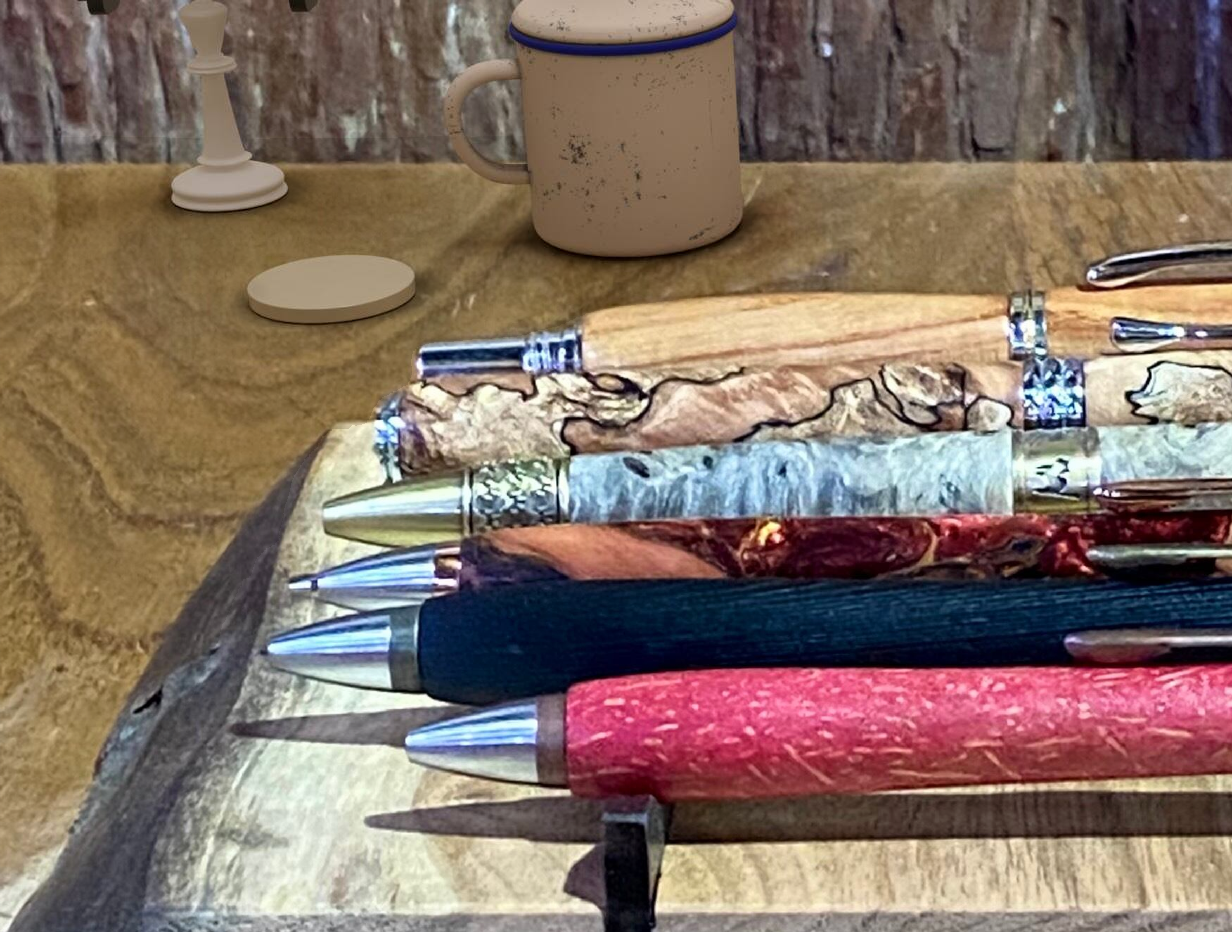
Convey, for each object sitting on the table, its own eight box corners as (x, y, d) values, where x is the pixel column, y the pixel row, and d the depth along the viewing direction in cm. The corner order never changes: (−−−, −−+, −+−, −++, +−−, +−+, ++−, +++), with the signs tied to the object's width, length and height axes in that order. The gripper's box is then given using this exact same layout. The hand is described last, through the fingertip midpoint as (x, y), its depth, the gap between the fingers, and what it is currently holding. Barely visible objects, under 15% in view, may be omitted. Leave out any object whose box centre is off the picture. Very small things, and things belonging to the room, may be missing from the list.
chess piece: (179, 181, 119) (143, -49, 114) (293, 175, 119) (262, -55, 114) (164, 214, 114) (126, -24, 110) (282, 208, 115) (249, -29, 110)
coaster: (230, 324, 102) (227, 309, 102) (271, 269, 107) (270, 255, 107) (397, 322, 102) (395, 307, 101) (430, 268, 107) (429, 253, 107)
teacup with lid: (727, 185, 116) (711, -91, 111) (768, 249, 108) (752, -45, 103) (448, 212, 114) (417, -69, 108) (468, 279, 106) (436, -20, 100)
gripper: (-72, -390, 103) (9, 35, 110) (297, -399, 102) (352, 29, 109) (-3, -411, 109) (68, -9, 117) (343, -420, 108) (392, -15, 116)
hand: (205, 9), depth 113 cm, fingers open, 8 cm apart
